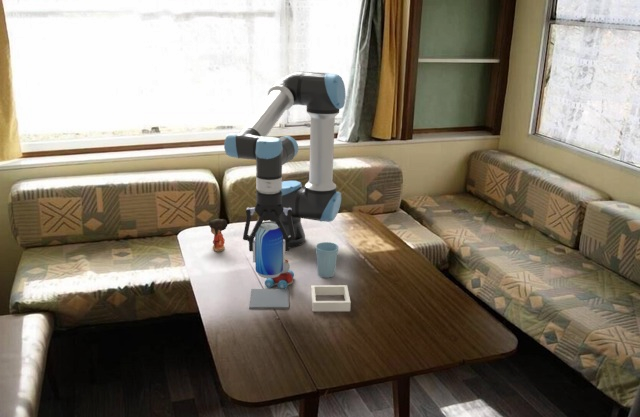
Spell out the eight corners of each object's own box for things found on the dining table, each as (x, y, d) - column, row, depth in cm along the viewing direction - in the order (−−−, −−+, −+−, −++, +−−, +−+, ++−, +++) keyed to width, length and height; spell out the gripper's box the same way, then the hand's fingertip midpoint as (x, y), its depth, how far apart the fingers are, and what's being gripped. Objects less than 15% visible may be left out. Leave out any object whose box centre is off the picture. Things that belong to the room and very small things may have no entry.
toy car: (271, 275, 211) (271, 248, 208) (296, 279, 209) (296, 252, 206) (262, 287, 203) (262, 259, 200) (287, 291, 201) (288, 263, 197)
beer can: (270, 265, 197) (270, 218, 192) (288, 273, 192) (288, 225, 186) (250, 272, 192) (249, 224, 186) (267, 281, 186) (267, 232, 181)
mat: (251, 290, 200) (251, 288, 200) (288, 290, 201) (288, 288, 201) (249, 308, 189) (249, 307, 189) (288, 308, 190) (288, 306, 189)
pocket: (311, 293, 199) (311, 285, 198) (346, 293, 200) (347, 285, 199) (312, 311, 188) (312, 302, 187) (350, 311, 189) (350, 302, 188)
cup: (341, 277, 211) (342, 249, 207) (320, 280, 208) (321, 252, 205) (331, 268, 218) (332, 240, 214) (311, 271, 215) (312, 244, 211)
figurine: (219, 244, 235) (218, 214, 231) (229, 247, 232) (228, 217, 228) (207, 249, 230) (205, 219, 226) (217, 253, 227) (216, 222, 223)
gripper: (231, 194, 178) (233, 265, 186) (305, 194, 180) (304, 265, 187) (234, 186, 186) (235, 255, 193) (304, 186, 187) (303, 255, 194)
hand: (269, 260), depth 190 cm, fingers closed on beer can, 8 cm apart
